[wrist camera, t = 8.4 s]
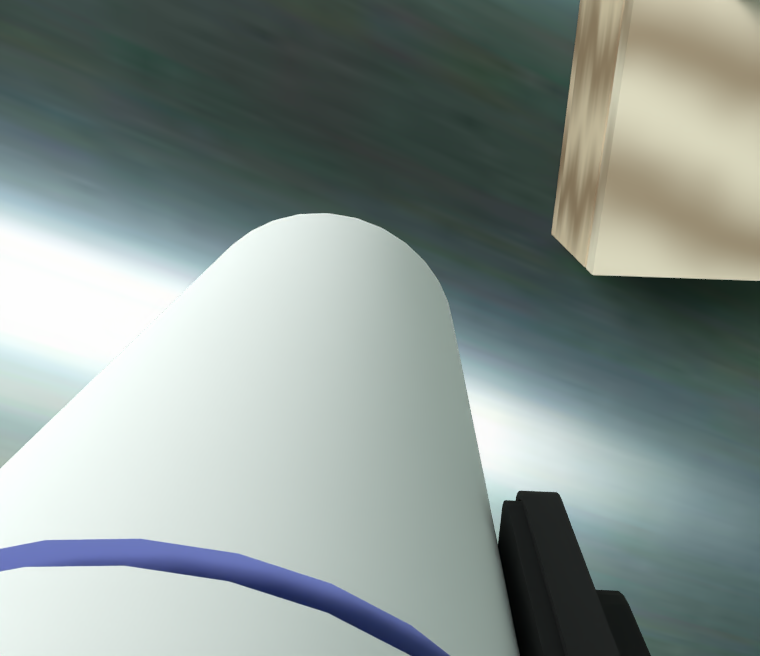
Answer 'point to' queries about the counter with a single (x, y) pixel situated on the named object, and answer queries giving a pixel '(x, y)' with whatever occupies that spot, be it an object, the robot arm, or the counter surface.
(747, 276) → the lid
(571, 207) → the wooden box
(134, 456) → the cylindrical container
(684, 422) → the counter surface
